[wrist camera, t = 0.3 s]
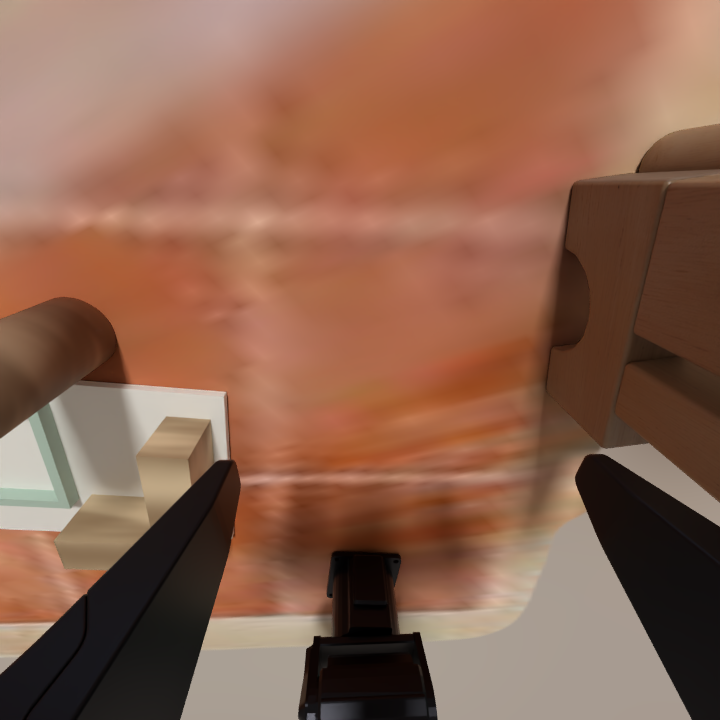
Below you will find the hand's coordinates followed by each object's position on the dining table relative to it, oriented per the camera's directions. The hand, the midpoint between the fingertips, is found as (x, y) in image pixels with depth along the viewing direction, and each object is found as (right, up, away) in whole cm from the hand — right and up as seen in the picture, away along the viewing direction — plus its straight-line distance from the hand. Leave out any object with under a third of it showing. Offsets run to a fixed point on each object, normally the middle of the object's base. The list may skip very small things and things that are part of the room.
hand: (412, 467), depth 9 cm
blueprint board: (-22, -5, +18) cm, 29 cm away
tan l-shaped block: (-18, -6, +18) cm, 26 cm away
